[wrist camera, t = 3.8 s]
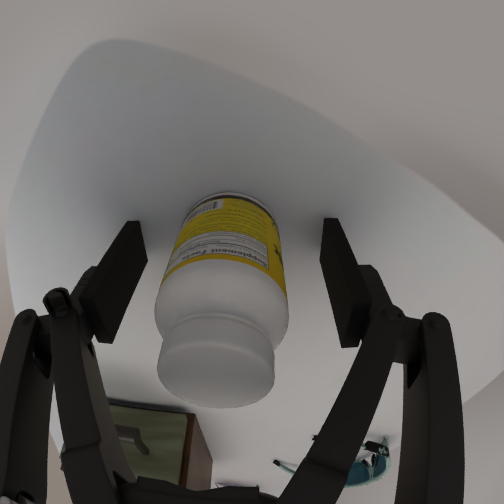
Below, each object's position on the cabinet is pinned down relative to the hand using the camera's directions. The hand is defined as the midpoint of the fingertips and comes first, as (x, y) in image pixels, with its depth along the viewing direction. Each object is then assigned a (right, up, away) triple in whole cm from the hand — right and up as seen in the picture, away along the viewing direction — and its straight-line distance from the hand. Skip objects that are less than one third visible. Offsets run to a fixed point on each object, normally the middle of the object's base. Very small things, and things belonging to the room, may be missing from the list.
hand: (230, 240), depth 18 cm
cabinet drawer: (-12, -21, +14) cm, 28 cm away
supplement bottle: (0, +1, +1) cm, 1 cm away
